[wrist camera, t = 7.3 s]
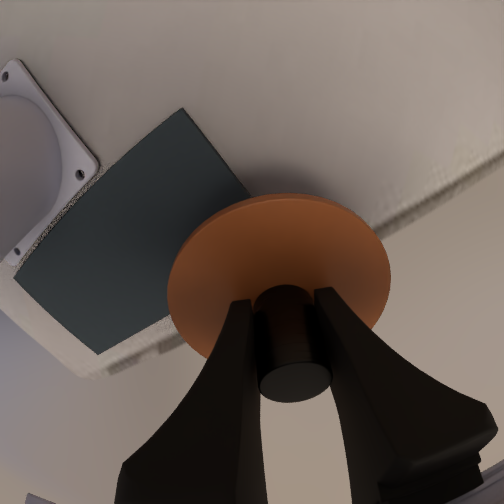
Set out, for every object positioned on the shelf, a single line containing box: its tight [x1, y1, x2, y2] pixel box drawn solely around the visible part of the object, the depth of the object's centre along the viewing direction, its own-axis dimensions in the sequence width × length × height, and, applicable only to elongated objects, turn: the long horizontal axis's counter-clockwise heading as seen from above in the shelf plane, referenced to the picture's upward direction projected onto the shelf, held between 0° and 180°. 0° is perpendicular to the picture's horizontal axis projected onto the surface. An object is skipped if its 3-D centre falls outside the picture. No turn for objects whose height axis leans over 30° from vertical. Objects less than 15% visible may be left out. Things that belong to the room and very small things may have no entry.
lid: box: [167, 193, 391, 403], centre depth 10 cm, size 8×8×4 cm
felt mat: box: [14, 108, 252, 355], centre depth 15 cm, size 15×8×1 cm, turn 124°
